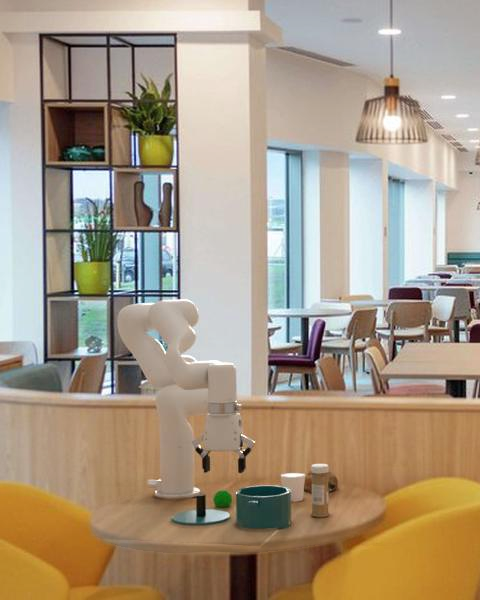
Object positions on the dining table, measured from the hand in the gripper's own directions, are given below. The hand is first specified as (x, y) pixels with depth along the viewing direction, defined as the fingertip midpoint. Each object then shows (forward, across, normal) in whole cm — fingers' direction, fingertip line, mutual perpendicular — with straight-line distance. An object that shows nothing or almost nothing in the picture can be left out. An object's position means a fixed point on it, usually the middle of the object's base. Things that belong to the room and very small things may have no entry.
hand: (224, 472), depth 287 cm
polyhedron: (+10, +1, 0) cm, 10 cm away
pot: (+10, -15, +15) cm, 24 cm away
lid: (+9, +2, +14) cm, 17 cm away
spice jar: (+11, -27, +4) cm, 30 cm away
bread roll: (+10, -19, -27) cm, 35 cm away
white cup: (+10, -15, -13) cm, 23 cm away
